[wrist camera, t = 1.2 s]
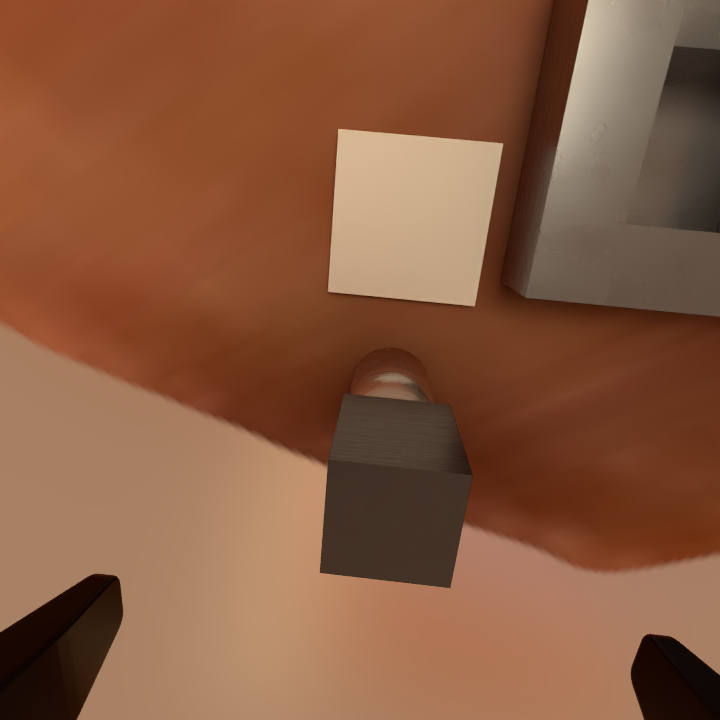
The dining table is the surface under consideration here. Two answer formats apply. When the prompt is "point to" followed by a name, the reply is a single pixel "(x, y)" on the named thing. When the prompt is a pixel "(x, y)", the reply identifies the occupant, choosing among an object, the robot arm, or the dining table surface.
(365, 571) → the dark square post
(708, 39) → the block
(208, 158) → the dining table surface
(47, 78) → the dining table surface
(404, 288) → the pad
